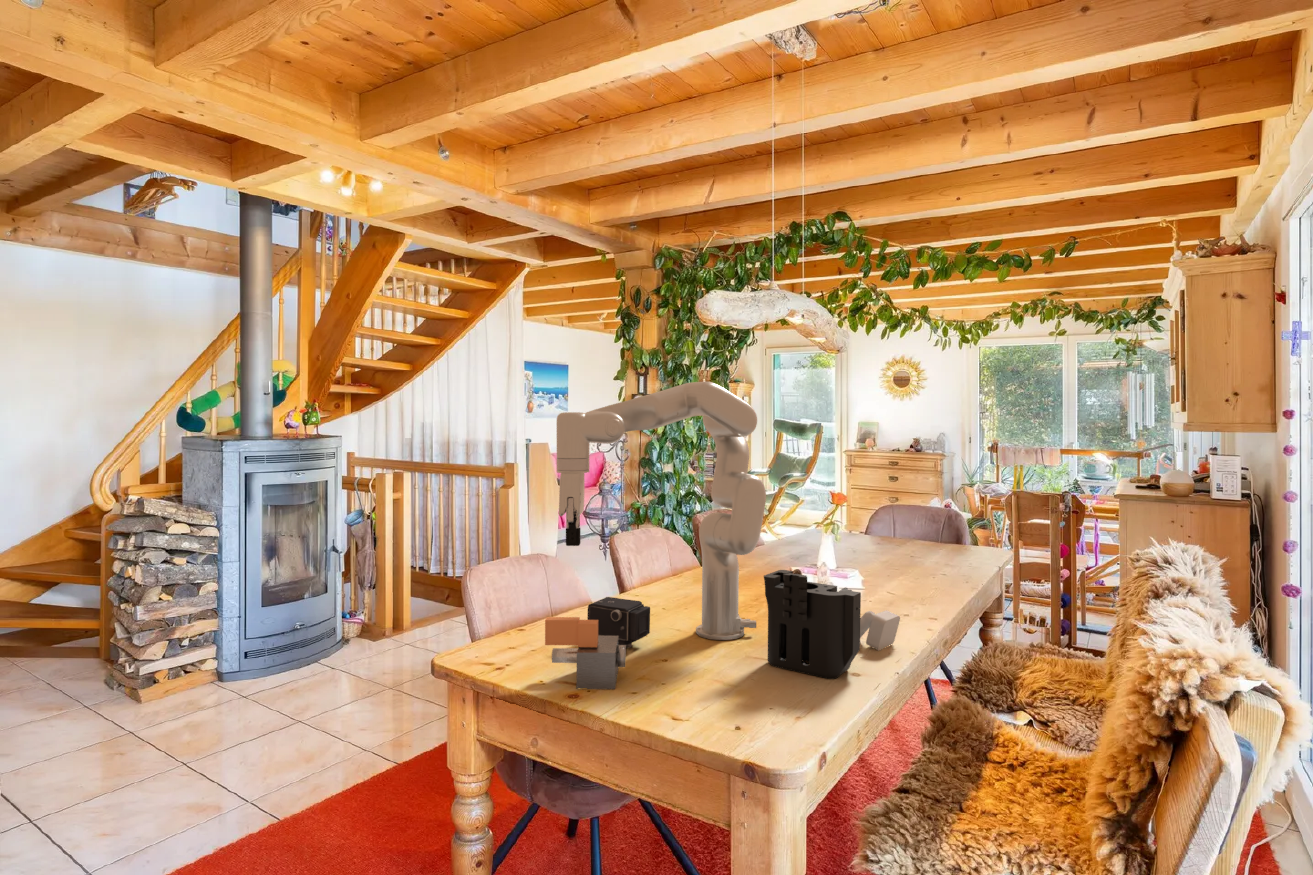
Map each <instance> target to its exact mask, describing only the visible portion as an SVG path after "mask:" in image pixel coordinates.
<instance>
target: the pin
mask: <svg viewBox="0 0 1313 875" xmlns="http://www.w3.org/2000/svg"><path fill="white" fill-rule="evenodd" d="M626 649H627V648H626V645H618V649H617V650H616V663H617V667H618V668H626V661H627V660H626V656H627V655H626V654H627V653H626V652H627V650H626ZM577 650H578V648H576V647H575V648H573V647H572V648H569V647H567V648H563V647H562V648H561V647H560V648H559V647H558V648H557V647H556V648H555V647H554V648H552V652H551V663H553V664H554V663H555V664H556V663H557V664H558V663H559V664H561V663H562V664H577Z"/></svg>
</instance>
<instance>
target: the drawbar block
mask: <svg viewBox="0 0 1313 875" xmlns="http://www.w3.org/2000/svg"><path fill="white" fill-rule="evenodd" d="M618 645H619V636H598V646H597V647H578V646H577V647H578V650H577V663H576V689H577V688H587V689H586V690H616V685H617V680H618V674H619V667H617V663H616V650H617V649H618Z"/></svg>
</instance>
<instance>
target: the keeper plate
mask: <svg viewBox="0 0 1313 875" xmlns="http://www.w3.org/2000/svg"><path fill="white" fill-rule="evenodd" d="M544 645H545V646H577V647H597V646H598V620H587V619H580V616H579V617H577V616H575V617H574V616H569V617H568V616H566V617H565V616H547V617H545V621H544Z"/></svg>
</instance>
